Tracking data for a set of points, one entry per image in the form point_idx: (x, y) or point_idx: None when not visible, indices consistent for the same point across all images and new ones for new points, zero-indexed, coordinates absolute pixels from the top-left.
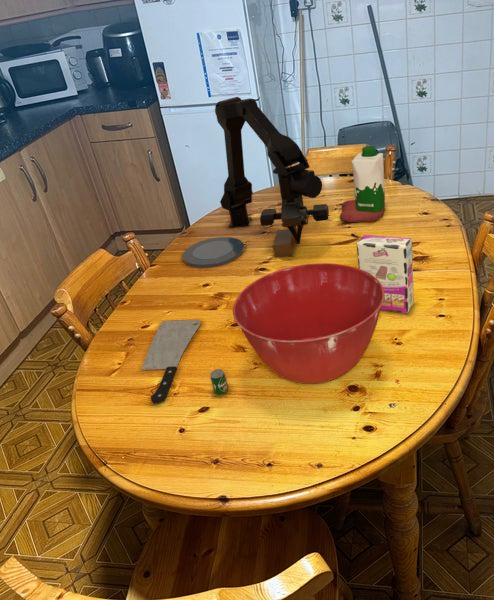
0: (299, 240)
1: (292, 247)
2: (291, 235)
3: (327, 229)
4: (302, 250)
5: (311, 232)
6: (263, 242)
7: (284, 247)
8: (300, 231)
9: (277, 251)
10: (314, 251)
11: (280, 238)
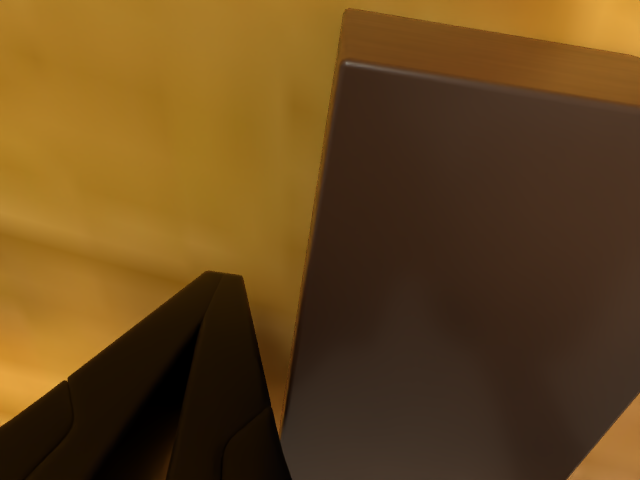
0: (186, 292)
1: (320, 168)
2: (302, 411)
3: None
4: (197, 171)
5: None
6: (600, 450)
7: (503, 64)
8: (37, 426)
9: (635, 71)
10: (13, 86)
11: (524, 377)
